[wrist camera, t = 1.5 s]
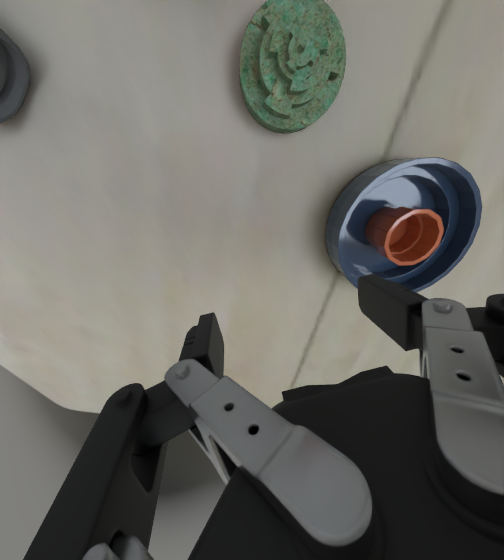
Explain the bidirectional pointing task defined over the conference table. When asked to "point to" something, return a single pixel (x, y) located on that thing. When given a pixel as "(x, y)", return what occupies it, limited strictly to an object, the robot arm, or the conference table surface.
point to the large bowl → (400, 192)
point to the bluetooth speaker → (12, 77)
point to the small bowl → (405, 233)
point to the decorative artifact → (291, 63)
